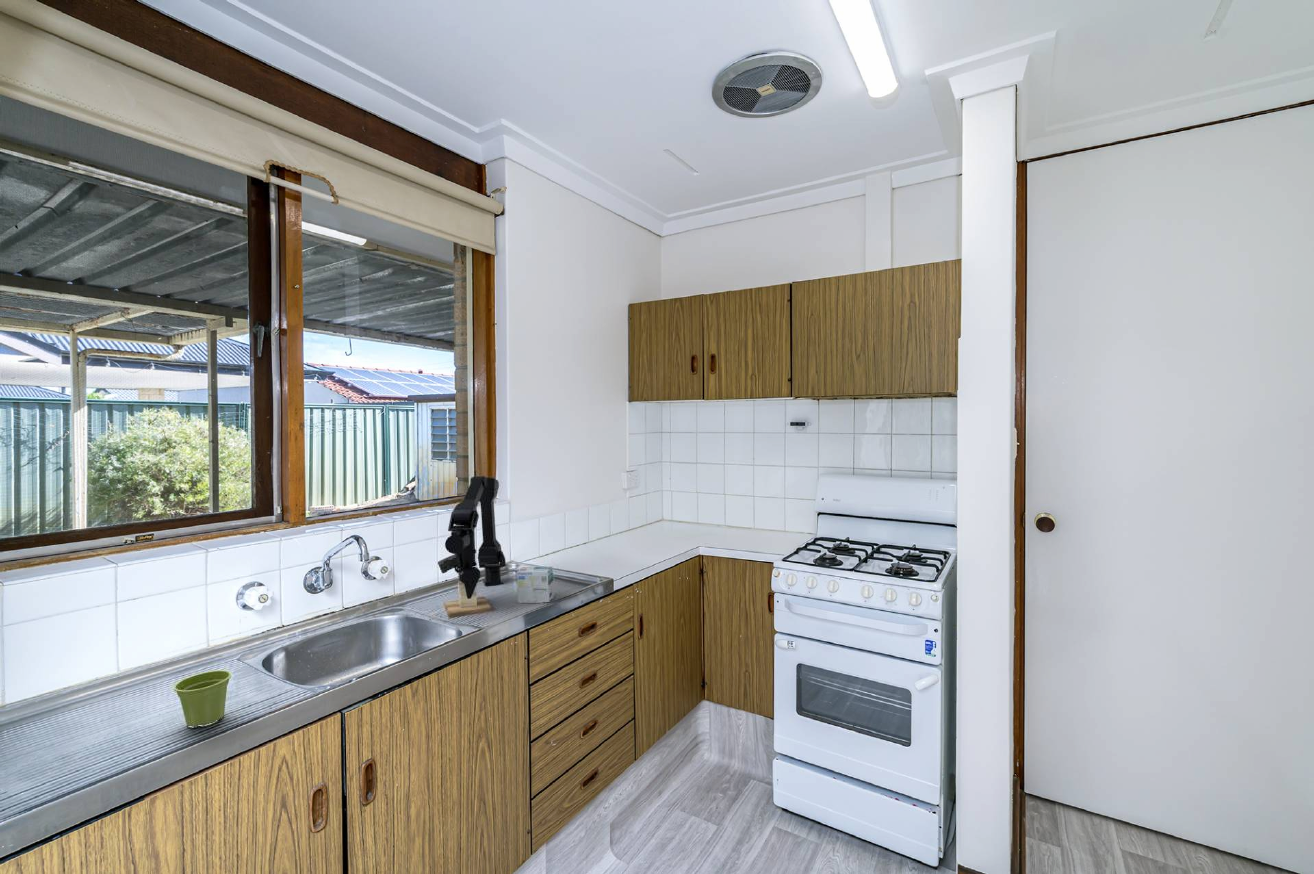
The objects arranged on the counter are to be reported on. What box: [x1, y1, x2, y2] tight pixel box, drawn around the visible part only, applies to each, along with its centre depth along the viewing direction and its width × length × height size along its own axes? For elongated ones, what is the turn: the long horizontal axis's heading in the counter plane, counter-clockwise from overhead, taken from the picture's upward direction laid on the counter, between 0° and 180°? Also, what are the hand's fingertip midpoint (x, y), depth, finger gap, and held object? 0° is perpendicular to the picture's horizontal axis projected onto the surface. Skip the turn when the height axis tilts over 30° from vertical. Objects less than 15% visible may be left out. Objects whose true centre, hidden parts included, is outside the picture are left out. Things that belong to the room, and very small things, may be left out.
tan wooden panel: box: [443, 596, 493, 619], centre depth 189 cm, size 13×13×2 cm
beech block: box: [457, 581, 478, 608], centre depth 189 cm, size 5×5×7 cm
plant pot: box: [173, 669, 232, 726], centre depth 120 cm, size 9×9×9 cm
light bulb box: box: [516, 565, 555, 604], centre depth 196 cm, size 11×7×11 cm, turn 87°
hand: (467, 594), depth 189 cm, fingers open, 9 cm apart
